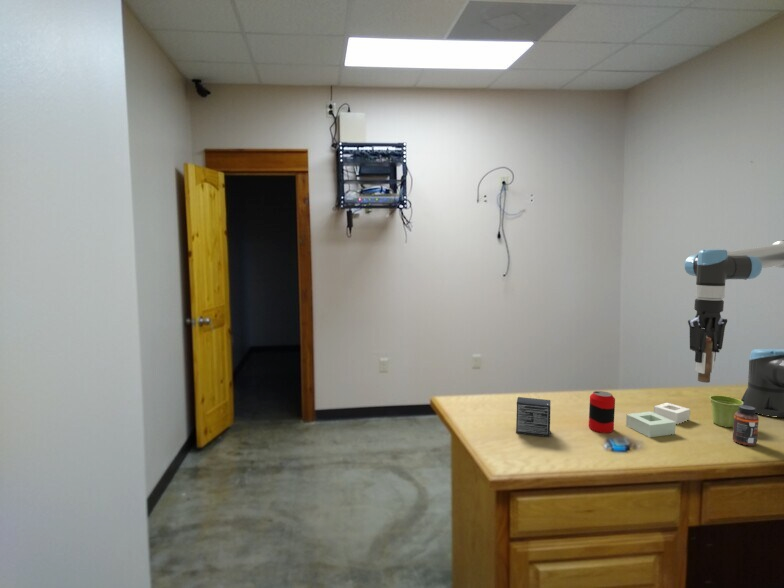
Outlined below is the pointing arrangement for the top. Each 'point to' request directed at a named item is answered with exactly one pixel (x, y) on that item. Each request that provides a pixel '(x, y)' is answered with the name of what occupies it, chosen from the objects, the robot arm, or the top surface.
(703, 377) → the brown cylinder
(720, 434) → the top surface
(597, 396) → the soda can
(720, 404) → the plant pot
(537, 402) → the small box
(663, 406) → the white hollow block
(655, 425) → the pale open box
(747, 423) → the supplement bottle
